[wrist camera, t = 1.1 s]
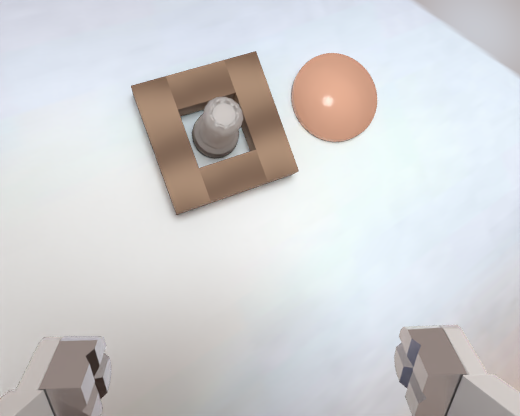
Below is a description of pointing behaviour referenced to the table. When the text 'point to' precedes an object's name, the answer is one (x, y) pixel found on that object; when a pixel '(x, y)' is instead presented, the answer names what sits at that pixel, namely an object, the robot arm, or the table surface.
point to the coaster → (334, 97)
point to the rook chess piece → (218, 127)
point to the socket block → (195, 99)
